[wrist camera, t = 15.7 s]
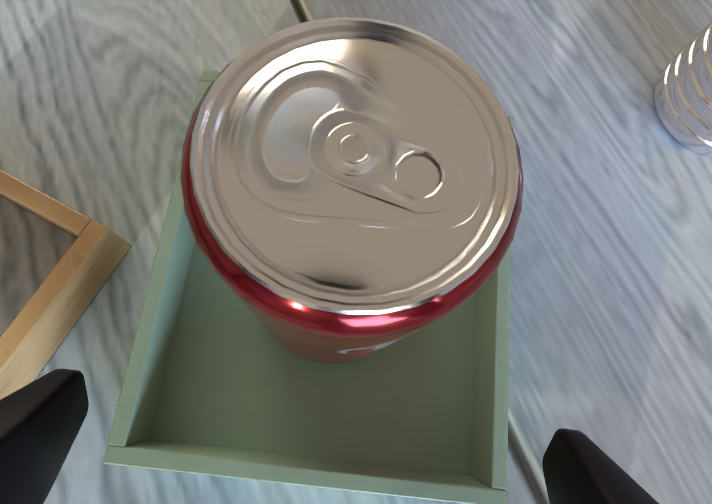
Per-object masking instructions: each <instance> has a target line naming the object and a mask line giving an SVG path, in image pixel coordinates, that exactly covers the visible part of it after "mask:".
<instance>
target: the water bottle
mask: <svg viewBox="0 0 712 504" xmlns="http://www.w3.org/2000/svg"><path fill="white" fill-rule="evenodd" d="M654 102H655V107H656V111H657V114H658V116H659V118H660V120H661V122H662V124H663V125H664V127H665V128H666V130H667V131H668V132H669V133H670V134H671V135H672V136H673V137H674V138H675V139H676V140H677V141H678V142H679V143H681V144H682V145H683V146H685V147H686V148H688V149H690V150H691V151H693V152H696V153H698V154H700V155H703V156H706V157H710V158H712V22H710V23H709V24H708V25H707V26H706V27H705V28H704V29H703V30H702V31H701V32H700V33H699V34H697V35H696V36H695V37H694V38H693V39H692V40H691V41H690V42H689V43H688V44H687V45H686V46H684V47H683V48H682V49H681V50H680V51H679V52H678V53H677V54H676V56H674V57H673V58H672V59H671V60H670V62H669V63H668V64H667V65H666V66H665V68H664V69H663V70H662V72H661V73H660V75H659V77H658V79H657V82H656V85H655V89H654Z"/></svg>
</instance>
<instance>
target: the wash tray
mask: <svg viewBox="0 0 712 504" xmlns="http://www.w3.org/2000/svg"><path fill="white" fill-rule="evenodd" d="M220 73H221V72H217V71H211V70H204V71H203V74H202V78H201V82H200V86H199V90H198V94H197V97H196V101H195V105H194V109H193V112H194V111H195V109H196V107H197V105H198V104H199V102H200V100H201V98H202V97H203V95H204V93H205V92H206V90H207V88H208V87H209V85H210V84H211V83H212V82H213V81H214V80H215V79H216V78H217V76H218V75H219V74H220ZM192 115H193V113H192ZM507 117H508V119H509V121H510V124H511V127H512V128H513V117H510V116H507ZM191 118H192V117H191ZM181 161H182V156H181V160H180V164H179V168H178V171H177V175H176V179H175V183H174V187H173V191H172V195H171V199H170V203H169V207H168V210H167V214H166V218H165V222H164V226H163V230H162V234H161V238H160V242H159V245H158V249H157V253H156V257H155V261H154V265H153V269H152V273H151V277H150V281H149V284H148V288H147V292H146V296H145V300H144V304H143V308H142V312H141V316H140V319H139V323H138V327H137V331H136V335H135V339H134V343H133V347H132V351H131V355H130V358H129V362H128V366H127V370H126V374H125V378H124V382H123V386H122V390H121V394H120V397H119V401H118V405H117V409H116V413H115V417H114V421H113V425H112V429H111V432H110V436H109V440H108V446H107V449H106V453H105V457H104V461H103V463H104V464H111V465H120V466H129V467H138V468H147V469H156V470H165V471H174V472H183V473H192V474H201V475H210V476H219V477H228V478H237V479H246V480H255V481H264V482H273V483H282V484H291V485H300V486H309V487H318V488H327V489H336V490H345V491H354V492H364V493H373V494H382V495H391V496H400V497H409V498H418V499H427V500H436V501H445V502H454V503H463V504H507V491H506V490H505V489H507V452H508V392H509V332H510V273H511V245H510V246H509V248H508V250H507V252H506V254H505V256H504V258H503V259H502V261H501V263H500V265H499V267H498V269H497V270H496V271H495V272H494V273H493V274H492V276H491V277H490V278H489V279H488V280H487V281H486V283H485V284H484V285H483V286H482V287H481V288H480V289H479V291H478V292H477V293H476V294H475V295H473V296H472V297H471V298H469V299H468V300H467V301H465V302H464V303H463V304H461V305H460V306H458V307H457V308H456V309H454V310H453V311H452V312H450V313H449V314H447V315H446V316H444V317H442V318H440V319H438V320H436V321H434V322H433V323H431V324H429V325H427V326H425V327H423V328H421V329H420V330H418V331H416V332H414V333H412V334H410V335H408V336H407V337H405V338H403V339H401V340H399V341H397V342H395V343H394V344H392V345H390V346H388V347H386V348H384V349H383V350H381V351H379V352H377V353H375V354H372V355H370V356H368V357H366V358H364V359H361V360H356V361H352V362H348V363H324V362H318V361H312V360H309V359H307V358H304V357H302V356H299V355H297V354H295V353H293V352H292V351H290V350H289V349H287V348H286V347H284V346H283V345H281V344H280V343H279V342H278V341H277V340H276V339H275V338H274V337H273V336H272V335H271V334H270V333H269V332H268V331H267V329H266V328H265V327H264V326H263V325H262V324H261V323H260V321H259V320H258V319H257V318H256V317H255V316H254V315H253V314H252V312H251V311H250V310H249V309H248V308H247V307H246V306H245V304H244V303H243V302H242V301H241V300H240V299H239V298H238V297H237V295H236V294H235V293H234V292H233V291H232V290H231V289H230V287H229V286H228V285H227V284H226V283H225V282H224V281H223V280H222V278H221V277H220V276H219V275H218V274H217V273H216V272H215V270H214V269H213V267H212V266H211V264H210V262H209V261H208V259H207V258H206V256H205V255H204V253H203V252H202V250H201V249H200V247H199V246H198V244H197V242H196V240H195V237H194V235H193V232H192V229H191V227H190V224H189V221H188V219H187V216H186V213H185V211H184V204H183V196H182V189H181V182H180V173H181Z"/></svg>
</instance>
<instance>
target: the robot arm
mask: <svg viewBox="0 0 712 504" xmlns="http://www.w3.org/2000/svg"><path fill="white" fill-rule="evenodd" d="M88 405H89V403H88V396H87V391H86V385H85V380H84V376H83V374H82V373H81V372H80V371H77V370H69V369H56V370H53V371H51V372H50V373H48V374H46V375H44V376H42V377H40V378H39V379H37V380H35V381H33V382H31V383H30V384H28V385H26V386H24V387H22V388H21V389H19V390H17V391H15V392H13V393H11V394H10V395H8V396H6V397H4V398H2V399H1V400H0V504H43V503H44V501H45V499H46V498H47V496H48V494H49V492H50V490H51V488H52V486H53V484H54V482H55V480H56V478H57V476H58V473H59V471H60V469H61V467H62V465H63V463H64V461H65V459H66V457H67V455H68V453H69V450H70V448H71V446H72V444H73V442H74V440H75V438H76V436H77V434H78V432H79V430H80V427H81V425H82V423H83V421H84V419H85V417H86V415H87V411H88ZM542 464H543V472H544V477H545V482H546V487H547V492H548V498H549V503H550V504H659V503H658V502H657V501H656V500H655V499H653V498H652V497H651V496H650V495H649V494H648V493H647V492H646V491H645V490H644V489H643V488H642V487H641V486H639V485H638V484H637V483H636V482H635V481H634V480H633V479H632V478H631V477H630V476H629V475H628V474H627V473H626V472H624V471H623V470H622V469H621V468H620V467H619V466H618V465H617V464H616V463H615V462H614V461H613V460H612V459H610V458H609V457H608V456H607V455H606V454H605V453H604V452H603V451H602V450H601V449H600V448H599V447H598V446H597V445H595V444H594V443H593V442H592V441H591V440H590V439H589V438H588V437H587V436H586V435H585V434H583V433H582V432H580V431H578V430H570V429H558V430H557V431H556V432H555V434H554V436H553V438H552V440H551V442H550V444H549V446H548V448H547V450H546V452H545V454H544V456H543V463H542Z"/></svg>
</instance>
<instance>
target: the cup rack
mask: <svg viewBox="0 0 712 504" xmlns="http://www.w3.org/2000/svg"><path fill="white" fill-rule="evenodd" d="M0 195H2V196H4V197H6V198H8V199H9V200H11V201H13V202H15V203H17V204H18V205H20V206H22V207H24V208H26V209H28V210H29V211H31V212H33V213H35V214H37V215H39V216H40V217H42V218H44V219H46V220H48V221H49V222H51V223H53V224H55V225H57V226H59V227H60V228H62V229H64V230H66V231H68V232H69V233H71V234H73V235H75V236H77V237H78V238H77V239H76V240H75V241H74V243H73V244H72V245H71V247H70V248H69V249H68V250H67V252H66V253H65V254H64V256H63V257H62V258H61V260H60V261H59V262H58V263H57V265H56V266H55V267H54V269H53V270H52V271H51V272H50V274H49V275H48V276H47V278H46V279H45V280H44V282H43V283H42V284H41V285H40V287H39V288H38V289H37V291H36V292H35V293H34V294H33V296H32V297H31V298H30V300H29V301H28V302H27V304H26V305H25V306H24V307H23V309H22V310H21V311H20V313H19V314H18V315H17V316H16V318H15V319H14V320H13V322H12V323H11V324H10V326H9V327H8V328H7V329H6V331H5V332H4V333H3V335H2V336H1V337H0V400H1V399H2V398H4V397H6V396H8V395H10V394H11V393H13V392H15V391H17V390H19V389H21V388H22V387H24V386H26V385H28V384H30V383H31V382H33V381H34V380H35V378H36V377H37V376H38V374H39V373H40V372H41V370H42V369H43V367H44V366H45V365H46V363H47V362H48V361H49V359H50V358H51V356H52V355H53V354H54V352H55V351H56V350H57V348H58V347H59V345H60V344H61V343H62V341H63V340H64V339H65V337H66V336H67V334H68V333H69V332H70V330H71V329H72V327H73V326H74V325H75V323H76V322H77V321H78V319H79V318H80V316H81V315H82V314H83V312H84V311H85V310H86V308H87V307H88V305H89V304H90V303H91V301H92V300H93V299H94V297H95V296H96V294H97V293H98V292H99V290H100V289H101V288H102V286H103V285H104V283H105V282H106V281H107V279H108V278H109V277H110V275H111V274H112V272H113V271H114V270H115V268H116V267H117V266H118V264H119V263H120V261H121V260H122V259H123V257H124V256H125V255H126V253H127V252H128V250H129V249H130V248H131V245H130V244H128V243H127V242H126V241H124V240H123V239H122V238H120V237H119V236H118V235H116V234H115V233H114V232H112V231H111V230H110V229H108V228H107V227H105V226H103V225H101V224H100V223H98V222H96V221H94V220H92V219H90V218H89V217H87V216H85V215H83V214H81V213H79V212H78V211H76V210H74V209H72V208H70V207H68V206H66V205H65V204H63V203H61V202H59V201H57V200H55V199H54V198H52V197H50V196H48V195H46V194H44V193H43V192H41V191H39V190H37V189H35V188H33V187H32V186H30V185H28V184H26V183H24V182H22V181H21V180H19V179H17V178H15V177H13V176H11V175H10V174H8V173H6V172H4V171H2V170H0Z"/></svg>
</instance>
